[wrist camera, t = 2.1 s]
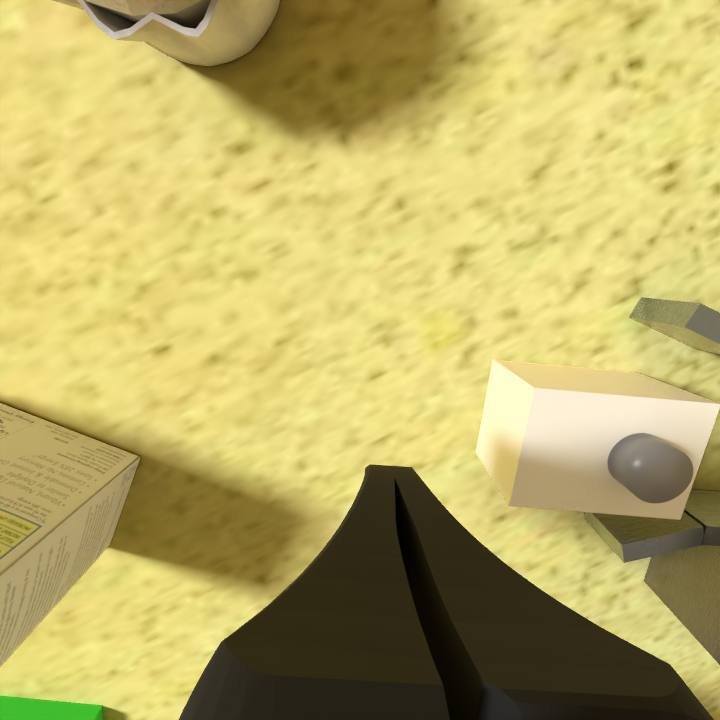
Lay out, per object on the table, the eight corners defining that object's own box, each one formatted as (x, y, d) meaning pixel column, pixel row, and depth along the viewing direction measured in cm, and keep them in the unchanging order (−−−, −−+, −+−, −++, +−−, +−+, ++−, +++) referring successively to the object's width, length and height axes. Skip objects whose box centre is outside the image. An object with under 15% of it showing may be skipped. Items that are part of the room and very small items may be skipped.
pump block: (607, 462, 19) (707, 541, 13) (474, 451, 19) (521, 526, 13) (632, 370, 18) (755, 417, 12) (491, 358, 18) (551, 399, 12)
